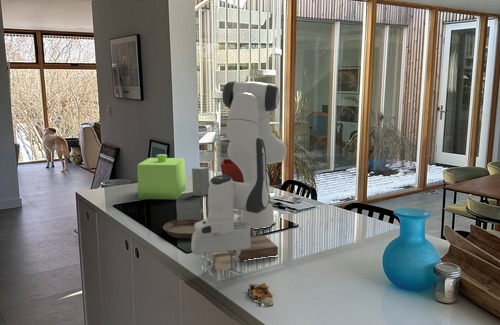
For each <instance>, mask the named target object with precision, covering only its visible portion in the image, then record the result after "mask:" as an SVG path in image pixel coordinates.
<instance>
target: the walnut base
mask: <svg viewBox="0 0 500 325" xmlns="http://www.w3.org/2000/svg"><path fill="white" fill-rule="evenodd" d="M250 240H251V246H250V247H249V249H242V250H241V253H240V255H239V256H238V258H239V259H240V260H241V261H244V260H248V259H254V258H261V257H268V256H276V255H279V246H278V245H276V243H274V242H273V241H272V240H271V239H269V238H268V237H267V236H266V235H264V234H262V235H261V234H260V235H250ZM233 252H234V253H236V251H235V250H233ZM233 252H232V253H233ZM234 253H233V254H234ZM239 259H238V260H239ZM240 260H239V261H240ZM241 261H240V262H241ZM244 262H245V261H244Z"/></svg>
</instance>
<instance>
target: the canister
mask: <svg viewBox="0 0 500 325" xmlns="http://www.w3.org/2000/svg"><path fill="white" fill-rule="evenodd" d="M185 164H186V162H185V158H184V157H168V155H167V154H165V153H164V154H162V153H160V154H156V157H148V158H146V159H144V160H143V161H141V162H140V163H138V164H137V166H136V168H137V171H136V172H137V173H136V174H137V194H138V195H137V198H138V200H177V199H179V197H180V196H181V195H182V194H183V193H184V191H186V168H185V167H186V166H185ZM182 192H183V193H182Z"/></svg>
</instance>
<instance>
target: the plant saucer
mask: <svg viewBox="0 0 500 325" xmlns="http://www.w3.org/2000/svg"><path fill="white" fill-rule="evenodd" d="M202 220H203V219H195V218H194V219H193V218H185V219H184V218H183V219H175V220H171V221H169V222H166V223H165V224H164V225H163V226H162V228H163V230H164V231H165V233H166V234H167V235H169V236H171V237H173V238H176V239H177V238H178V239H192V235H193V233H194V231H196V230H195V227H194V225H195V223H197V222H199V221H202Z"/></svg>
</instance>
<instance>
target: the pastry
mask: <svg viewBox="0 0 500 325" xmlns="http://www.w3.org/2000/svg"><path fill="white" fill-rule="evenodd" d="M269 289H270V287H269V286H268V285H267V284H266V282H263V283H259V282H257V283H254V284H252V283H248V289H247V292H248V294H249V297H251V298H252V301H253V300H257V301H258V302H257V305H258V304H259V305H258V306H260V305H261V304H262V303H263V304H264V306H267V305H268V307H270V306H273V305H274V304H273V302H274V300H273V298H272V297H273V294H272V292H270V291H269ZM272 304H273V305H272ZM264 306H263V307H264Z"/></svg>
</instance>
